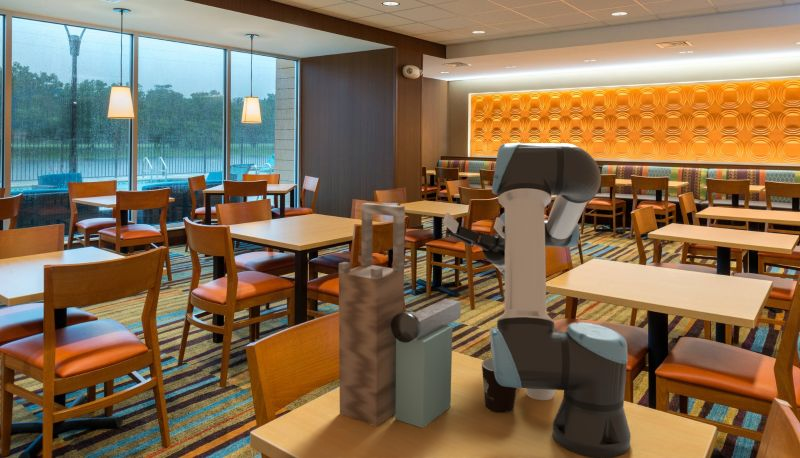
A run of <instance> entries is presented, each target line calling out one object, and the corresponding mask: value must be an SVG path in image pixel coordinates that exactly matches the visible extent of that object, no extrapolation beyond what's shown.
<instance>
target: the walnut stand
mask: <svg viewBox="0 0 800 458" xmlns="http://www.w3.org/2000/svg"><path fill="white" fill-rule="evenodd" d="M405 207H406V206H404V205H396V204H383V203H375V202H374V203H372V202H364V203H361V265H360V266H357V267H354V268H351V262H350V261H349V262H348V261H343V262H339V263H338V323H339V324H338V331H339V332H338V333H339V335H338V338H339V339H338V341H339V342H338V344H339V345H338V347H339V348H338V352H339V353H338V355H339V356H338V358H339V359H338V361H339V363H338V365H339V366H338V367H339V369H338V370H339V372H338V373H339V415H343V416H346V417H347V418H348V417H349V418H351V419H355V420H357V421H360V422H363V423H366V424H369V425H371V426H375V427H377V426H380V424H382V423H384V422H385V421H387V419H389V418H391V417H392V416H395V414H396V338H395V337H394V335H393V333H392V330H391V321H392V319H393V317H394V316H396V315H398V314H400V313H402V312H404V305H405V304H404V299H405V297H404V294H405V292H404V289H405V287H404V286H405V216H406V215H405V212H406V211H405V209H406V208H405ZM373 215H379V216H380V215H381V216H389V217H390V216H391V217H393V218H392V219H393V226H392V227H393V231H392V233H393V234H392V237H393V238H392V239H393V240H392V243H393V244H392V246H393V247H392V252H393V253H392V267H387V266H386V267H385V266H380V265H375V264H374V265H373Z"/></svg>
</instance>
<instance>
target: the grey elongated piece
mask: <svg viewBox="0 0 800 458" xmlns="http://www.w3.org/2000/svg"><path fill="white" fill-rule="evenodd" d="M461 309H462V301H461V300H456V299H450V298H443V299H441V300H439V301H437V302H435V303H433V304H431V305H428V306H427V307H424V308H422V309H420V310H417V311H416V312H414V313H413V312H410V311H403V312H402V313H400V314H398V315H396V316H394V317H393V319H392V321H391V330H392V333H393V335H394V337H395V338H396V339H397V340H399V341H400V342H404V343H407V342H410V341H412V340H414V341H418V340H420V339H422V338H424V337H426V336H427V335H429V334H431V333H433V332H435V331H437V330H439V329H441V328H442V327H444V326H446V325H447V326H449V325H451V324H452V323H454V322H455V321H457V320H459V319H461V314H462V312H461V311H462V310H461Z"/></svg>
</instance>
